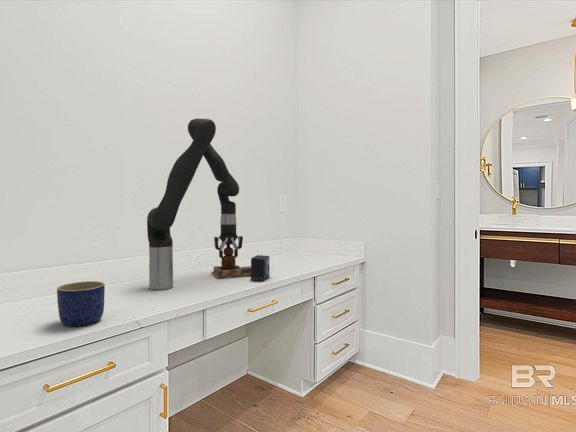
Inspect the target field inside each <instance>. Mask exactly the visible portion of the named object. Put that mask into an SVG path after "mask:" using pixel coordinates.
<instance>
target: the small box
mask: <svg viewBox="0 0 576 432" xmlns="http://www.w3.org/2000/svg"><path fill="white" fill-rule="evenodd" d="M250 267H251V276H250V282H260V283H263V282H265V281H266V280H268V279H269V278H270V255H259V254H257V255H255V256H252V257H251V258H250Z"/></svg>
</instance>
